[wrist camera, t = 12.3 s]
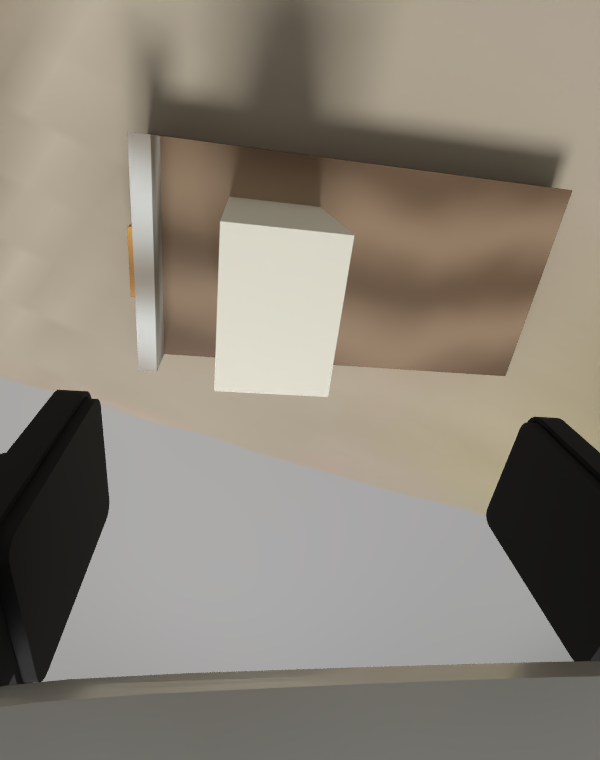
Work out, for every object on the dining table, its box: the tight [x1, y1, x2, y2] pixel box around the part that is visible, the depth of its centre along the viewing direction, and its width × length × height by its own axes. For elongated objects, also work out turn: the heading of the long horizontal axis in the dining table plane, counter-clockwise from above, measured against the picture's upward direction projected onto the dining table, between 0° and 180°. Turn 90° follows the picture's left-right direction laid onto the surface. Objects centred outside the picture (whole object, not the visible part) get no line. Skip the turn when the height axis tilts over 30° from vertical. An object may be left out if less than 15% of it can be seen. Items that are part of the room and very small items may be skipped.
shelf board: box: [127, 132, 572, 376], centre depth 27 cm, size 12×24×4 cm, turn 83°
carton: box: [214, 197, 354, 397], centre depth 22 cm, size 5×7×9 cm
